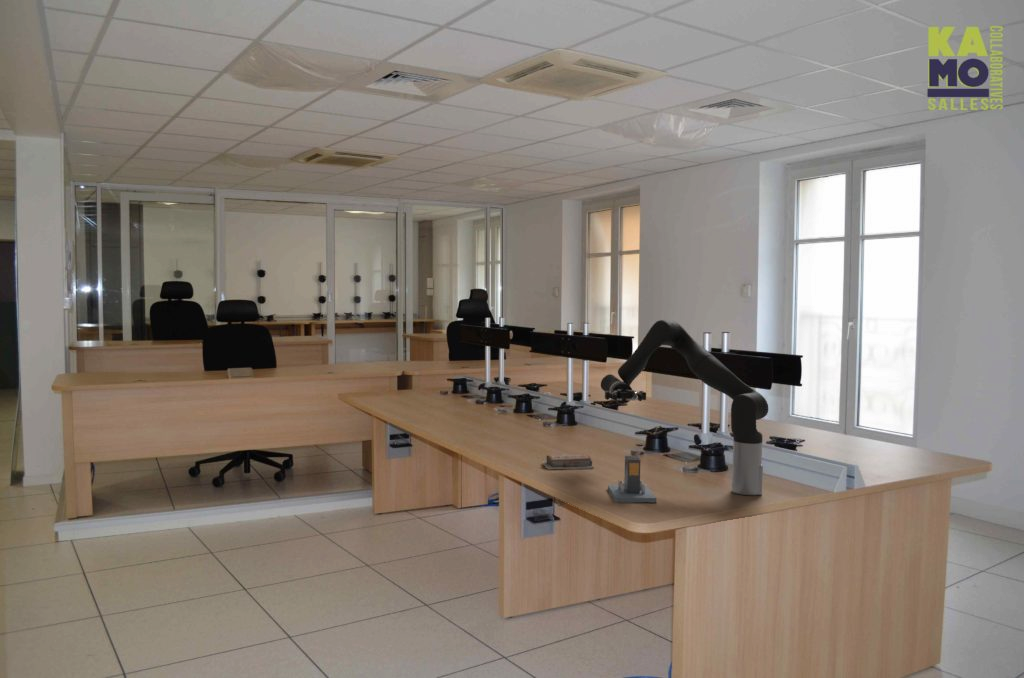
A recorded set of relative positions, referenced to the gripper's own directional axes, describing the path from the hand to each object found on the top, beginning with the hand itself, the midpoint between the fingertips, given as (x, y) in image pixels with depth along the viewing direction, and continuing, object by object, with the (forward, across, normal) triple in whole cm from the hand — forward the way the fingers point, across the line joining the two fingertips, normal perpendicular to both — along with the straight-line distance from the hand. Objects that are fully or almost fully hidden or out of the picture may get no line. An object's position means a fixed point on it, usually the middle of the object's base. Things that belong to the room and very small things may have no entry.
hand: (628, 397), depth 260 cm
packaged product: (-26, -18, +31) cm, 44 cm away
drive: (+16, -1, +28) cm, 33 cm away
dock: (+16, -1, +30) cm, 34 cm away
